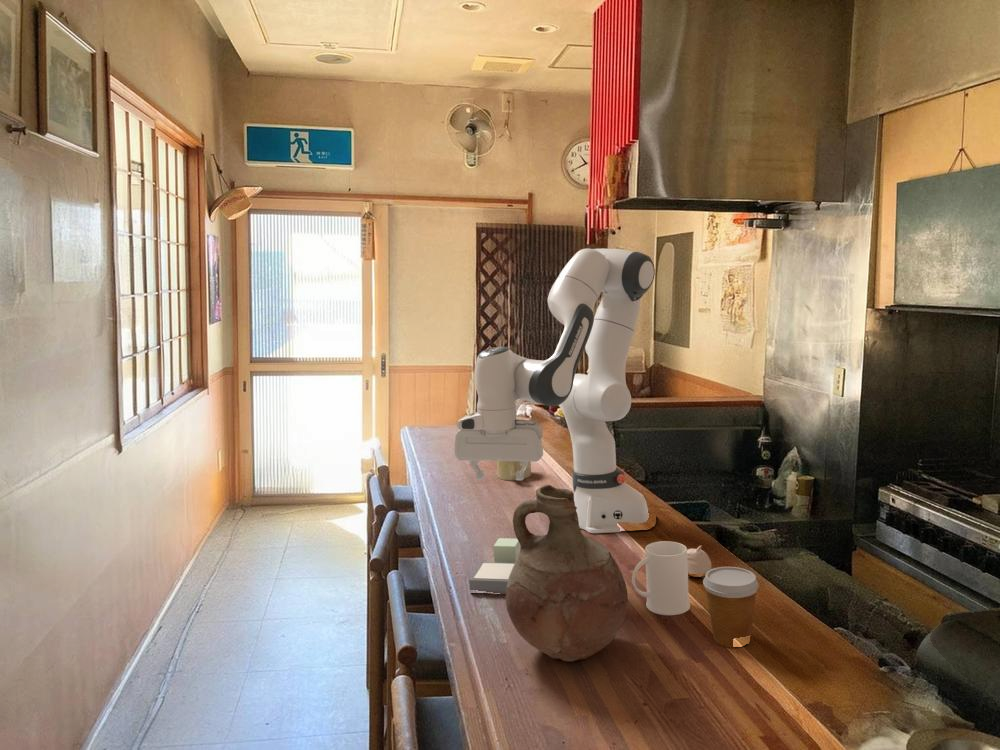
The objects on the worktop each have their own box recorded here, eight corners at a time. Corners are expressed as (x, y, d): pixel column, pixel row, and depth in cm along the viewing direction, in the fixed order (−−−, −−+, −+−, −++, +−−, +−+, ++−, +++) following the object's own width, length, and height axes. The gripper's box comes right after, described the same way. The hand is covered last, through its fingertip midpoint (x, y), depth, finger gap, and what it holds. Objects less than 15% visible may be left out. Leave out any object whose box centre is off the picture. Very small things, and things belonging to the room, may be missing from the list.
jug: (629, 685, 127) (621, 508, 123) (499, 681, 131) (487, 509, 127) (630, 624, 148) (624, 471, 144) (518, 622, 152) (509, 473, 148)
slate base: (525, 576, 174) (524, 562, 174) (515, 595, 165) (514, 581, 164) (481, 574, 177) (481, 561, 176) (470, 593, 167) (469, 579, 167)
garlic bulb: (678, 580, 167) (677, 544, 166) (682, 569, 173) (681, 534, 171) (710, 583, 164) (709, 546, 163) (713, 571, 170) (712, 536, 169)
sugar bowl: (542, 479, 250) (539, 433, 248) (510, 485, 246) (507, 438, 244) (523, 469, 264) (520, 426, 262) (492, 474, 260) (489, 430, 258)
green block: (521, 563, 182) (519, 538, 181) (516, 571, 177) (515, 546, 177) (500, 562, 183) (498, 538, 183) (495, 571, 179) (493, 546, 178)
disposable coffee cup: (752, 657, 134) (750, 590, 132) (697, 646, 139) (695, 581, 137) (765, 633, 142) (764, 570, 140) (713, 623, 147) (711, 562, 145)
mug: (640, 621, 149) (638, 561, 148) (624, 603, 158) (621, 546, 156) (697, 611, 152) (695, 552, 150) (678, 594, 160) (676, 538, 158)
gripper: (545, 417, 177) (547, 476, 179) (459, 416, 182) (462, 474, 184) (538, 422, 171) (541, 484, 173) (450, 422, 176) (453, 481, 178)
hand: (499, 479), depth 178 cm, fingers open, 8 cm apart
